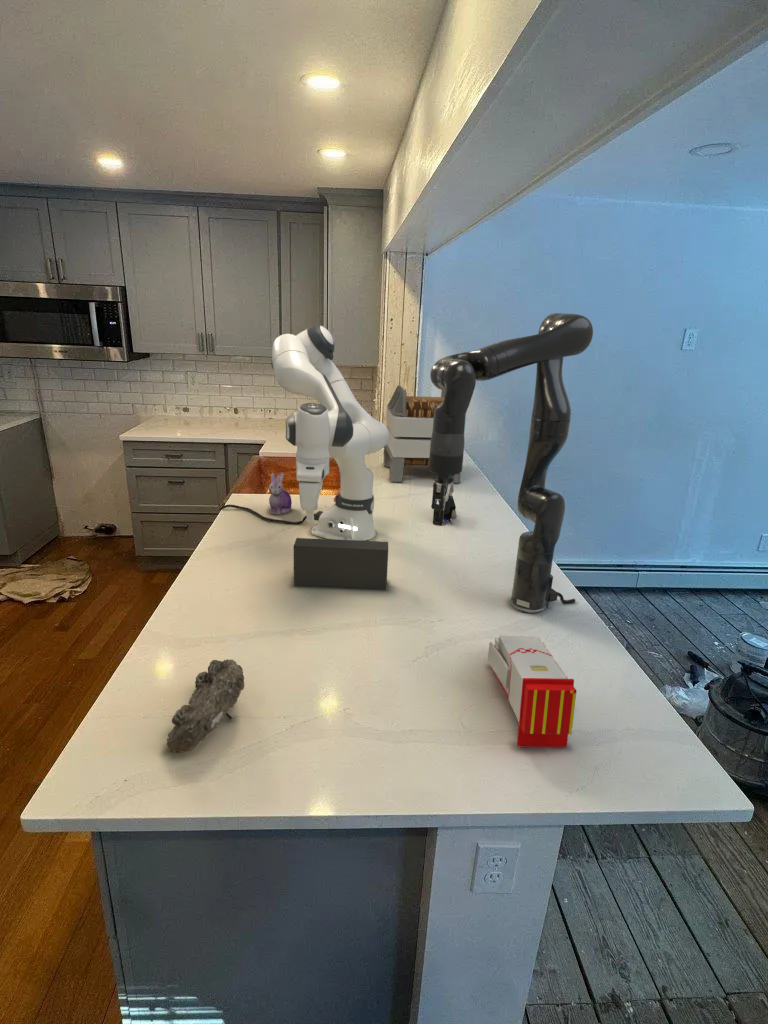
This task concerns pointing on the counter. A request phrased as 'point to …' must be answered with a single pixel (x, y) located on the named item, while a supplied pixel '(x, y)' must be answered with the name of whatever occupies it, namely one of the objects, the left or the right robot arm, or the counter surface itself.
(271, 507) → the figurine
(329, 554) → the box
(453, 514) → the figurine character
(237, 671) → the fossil
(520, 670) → the toy
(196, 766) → the counter surface
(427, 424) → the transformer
